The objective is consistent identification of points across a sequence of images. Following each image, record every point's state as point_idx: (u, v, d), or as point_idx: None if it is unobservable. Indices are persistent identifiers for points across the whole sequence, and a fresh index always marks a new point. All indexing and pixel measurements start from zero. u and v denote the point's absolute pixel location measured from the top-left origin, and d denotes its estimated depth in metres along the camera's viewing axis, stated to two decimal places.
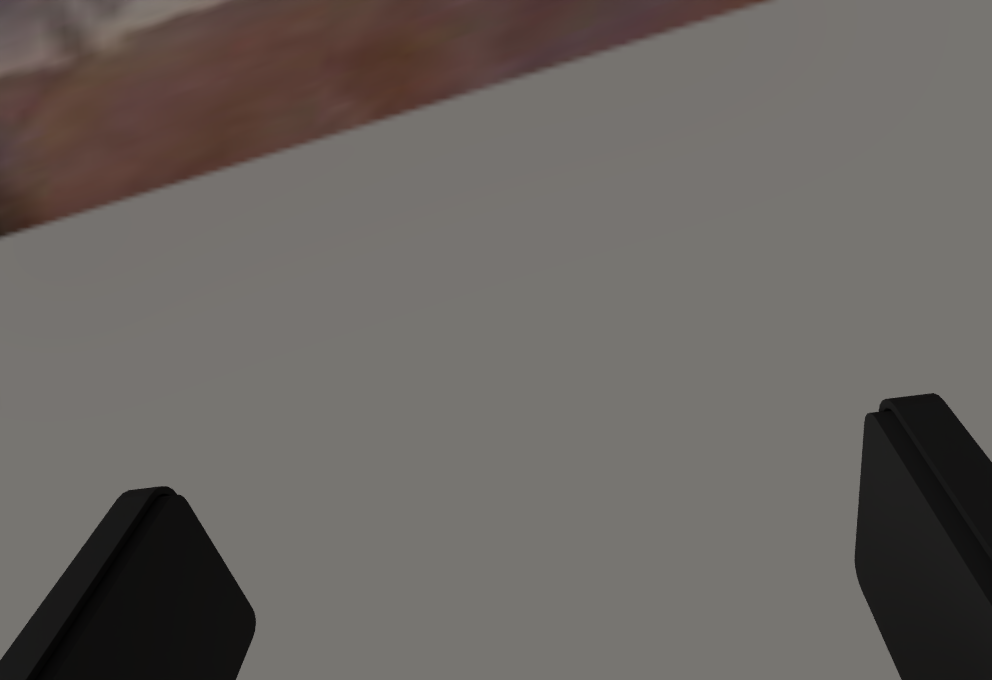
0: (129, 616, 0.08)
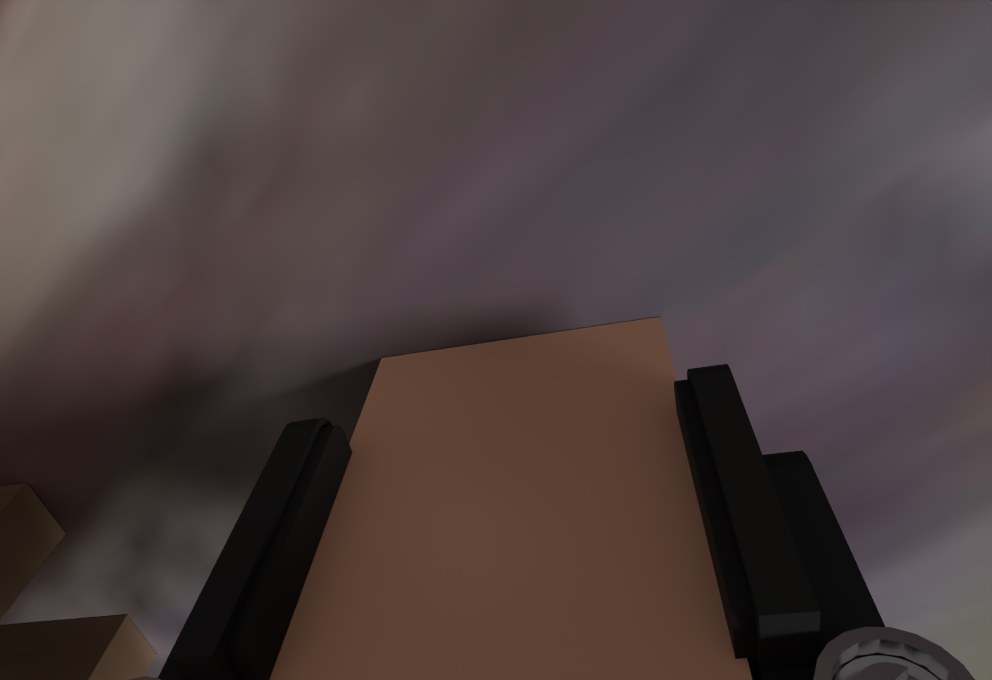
0: (314, 530, 0.09)
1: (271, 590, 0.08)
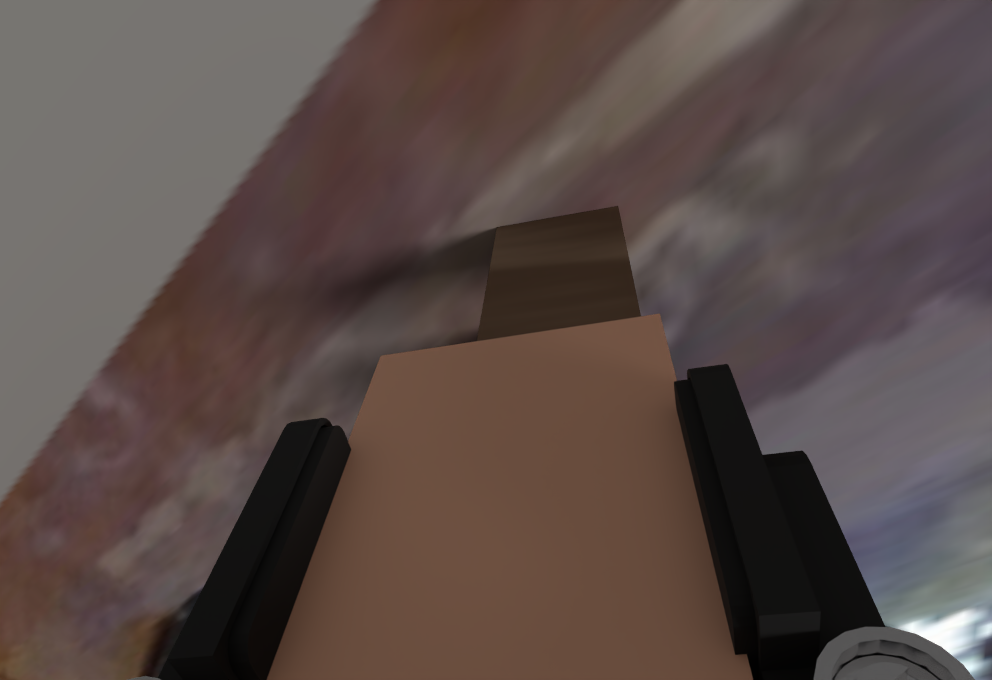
0: (314, 530, 0.09)
1: (271, 590, 0.08)
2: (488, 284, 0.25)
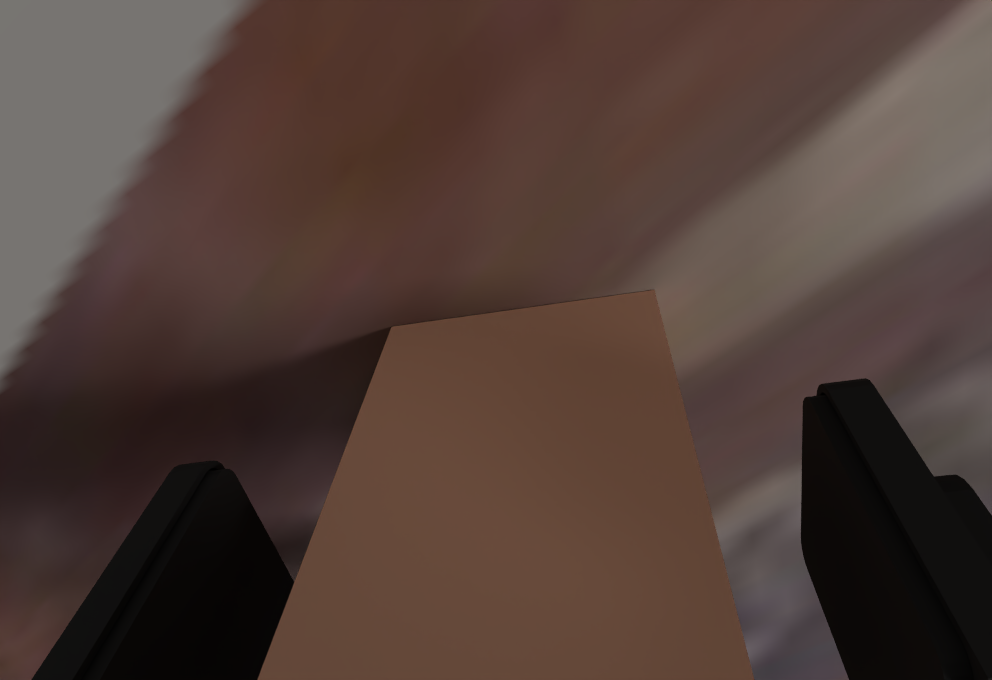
0: (187, 583, 0.09)
1: (122, 653, 0.07)
2: None
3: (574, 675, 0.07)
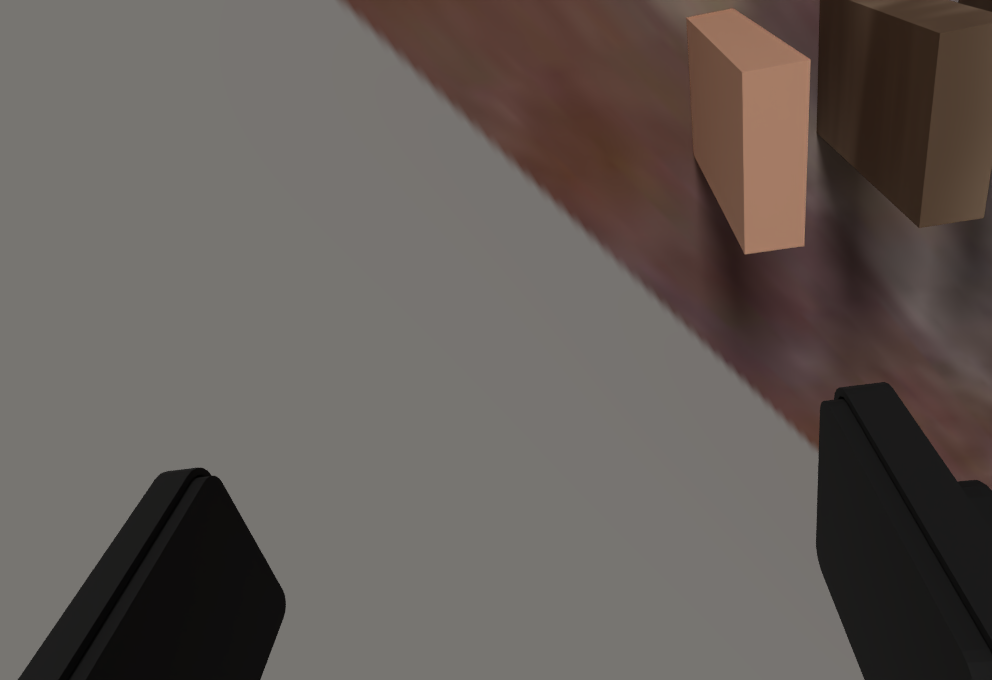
0: (171, 592, 0.09)
1: (102, 664, 0.07)
2: (866, 177, 0.22)
3: (729, 120, 0.19)
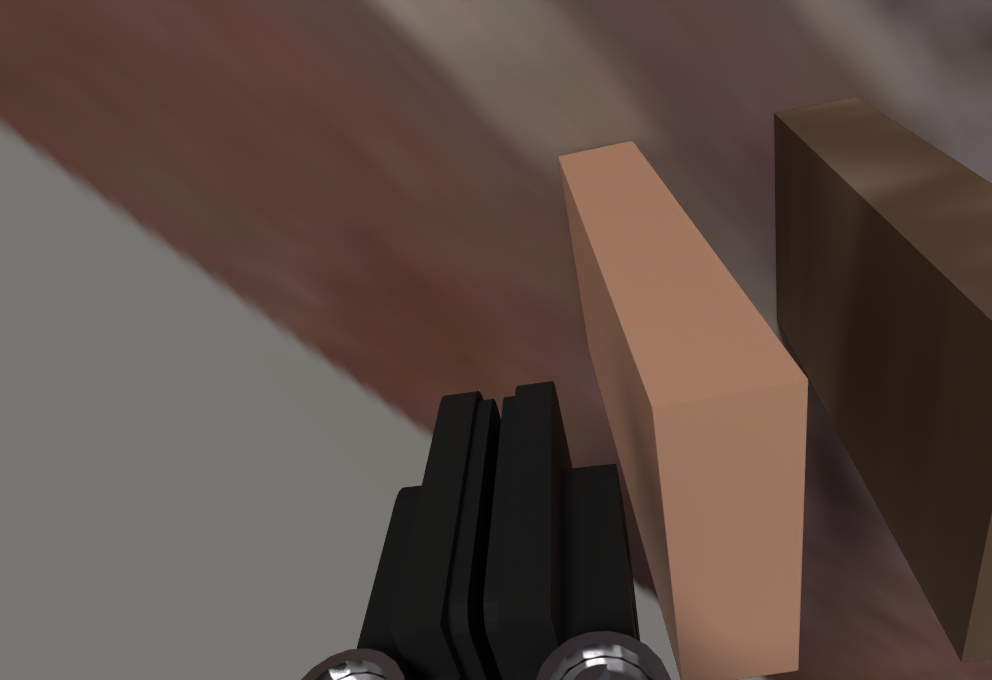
0: (490, 503, 0.09)
1: (473, 561, 0.08)
2: (855, 461, 0.13)
3: (633, 432, 0.09)
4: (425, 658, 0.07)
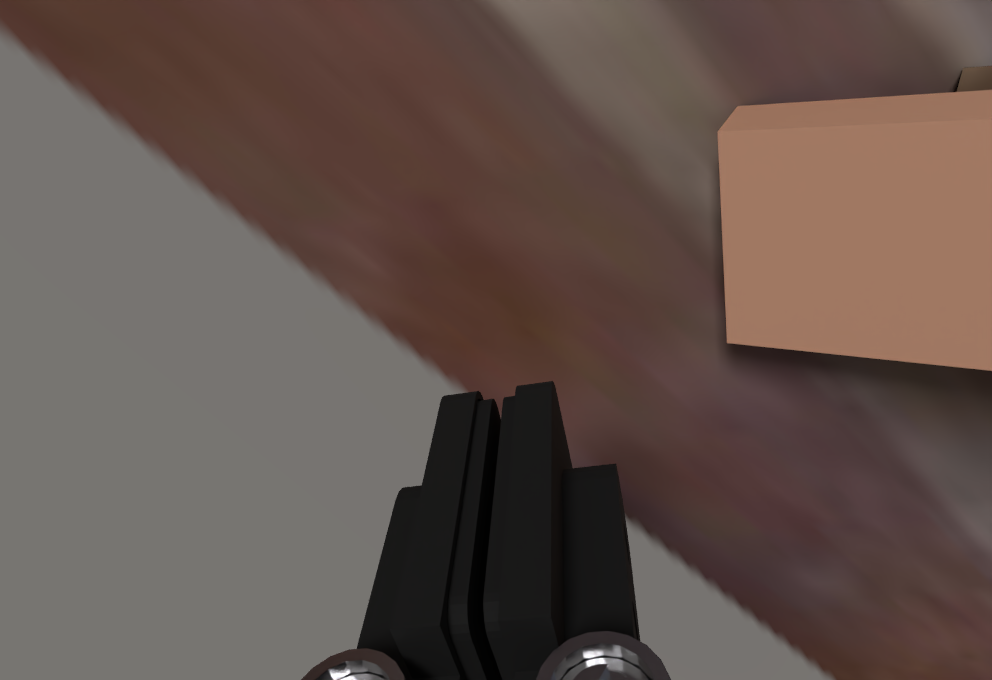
0: (490, 504, 0.09)
1: (473, 561, 0.08)
2: None
3: None
4: (425, 658, 0.07)
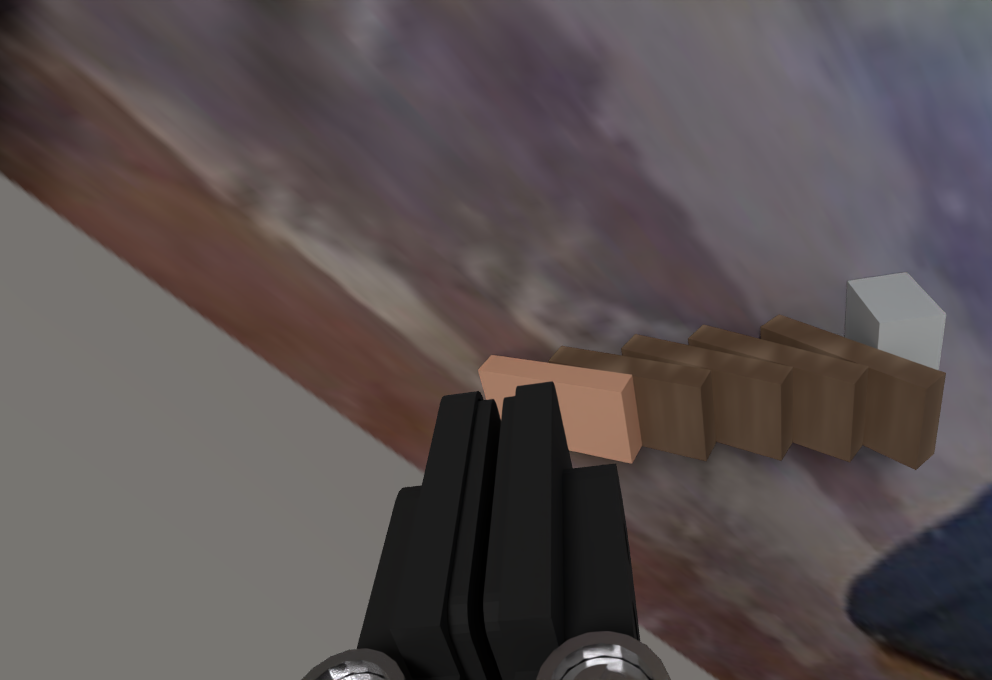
0: (490, 503, 0.09)
1: (473, 561, 0.08)
2: None
3: (597, 412, 0.38)
4: (425, 658, 0.07)
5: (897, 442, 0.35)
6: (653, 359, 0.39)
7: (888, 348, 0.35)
